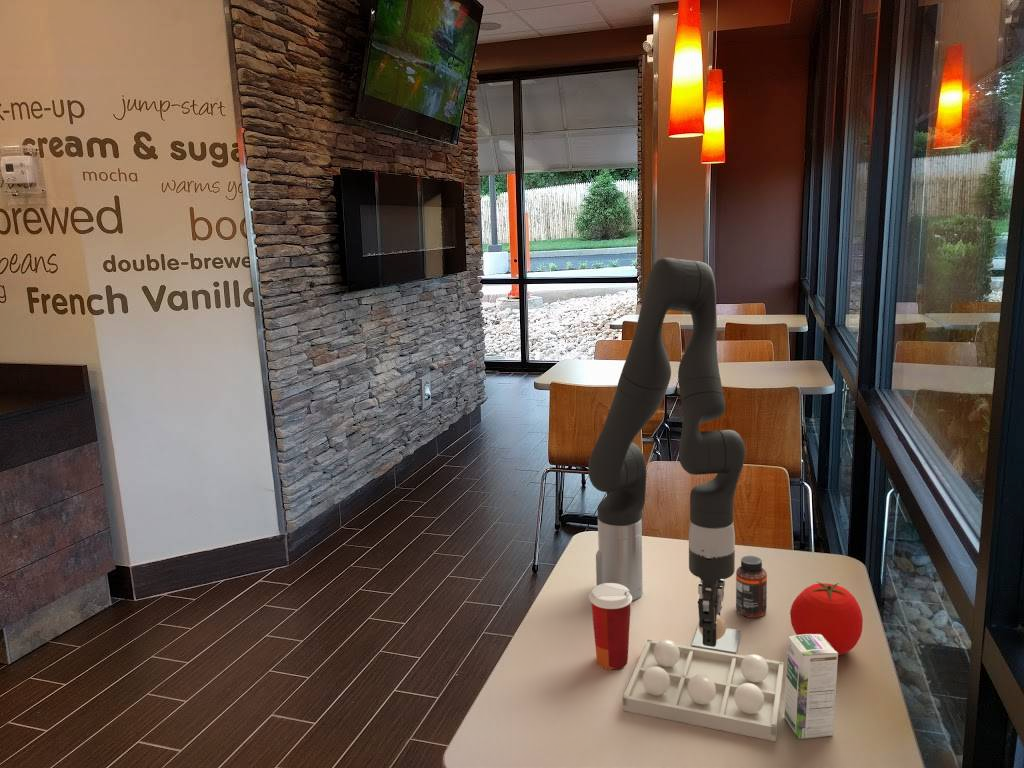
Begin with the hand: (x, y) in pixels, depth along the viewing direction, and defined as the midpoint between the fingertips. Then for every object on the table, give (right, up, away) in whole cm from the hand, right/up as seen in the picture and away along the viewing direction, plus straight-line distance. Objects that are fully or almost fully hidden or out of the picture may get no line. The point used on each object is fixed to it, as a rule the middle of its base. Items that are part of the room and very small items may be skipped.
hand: (711, 637), depth 134 cm
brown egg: (0, +2, 0) cm, 2 cm away
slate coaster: (+4, -5, +13) cm, 15 cm away
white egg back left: (-7, -4, +4) cm, 9 cm away
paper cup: (-16, -7, +8) cm, 19 cm away
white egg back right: (+7, -5, -2) cm, 9 cm away
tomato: (+23, -5, +9) cm, 25 cm away
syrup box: (+12, -10, -12) cm, 20 cm away
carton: (-2, -9, -2) cm, 9 cm away
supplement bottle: (+14, -2, +23) cm, 27 cm away
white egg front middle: (-3, -6, -7) cm, 10 cm away
